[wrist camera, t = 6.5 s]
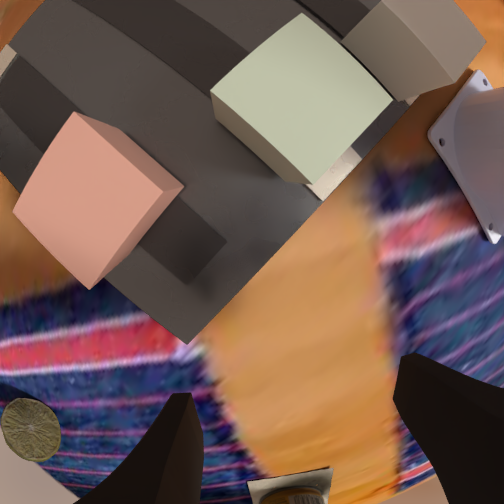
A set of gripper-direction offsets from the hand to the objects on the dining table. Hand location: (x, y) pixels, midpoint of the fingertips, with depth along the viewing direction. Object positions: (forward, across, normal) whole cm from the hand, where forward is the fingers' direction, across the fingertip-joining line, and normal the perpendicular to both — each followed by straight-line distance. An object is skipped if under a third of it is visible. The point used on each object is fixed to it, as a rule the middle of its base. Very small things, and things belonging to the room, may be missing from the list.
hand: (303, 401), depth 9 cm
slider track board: (+7, +3, -14) cm, 16 cm away
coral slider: (+6, +6, -7) cm, 11 cm away
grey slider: (+5, -7, -13) cm, 16 cm away
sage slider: (+5, -1, -10) cm, 11 cm away
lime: (+8, +18, +8) cm, 21 cm away
